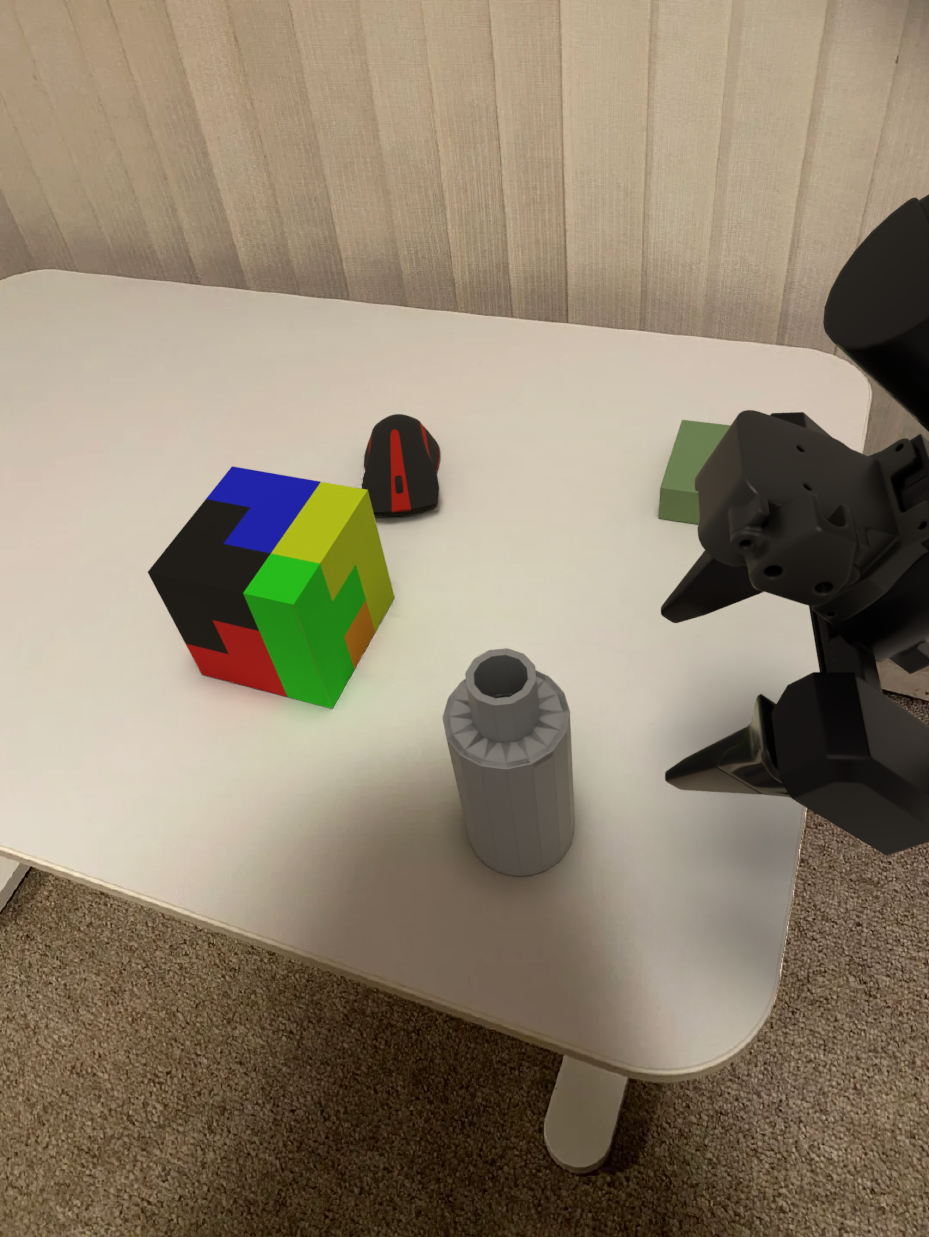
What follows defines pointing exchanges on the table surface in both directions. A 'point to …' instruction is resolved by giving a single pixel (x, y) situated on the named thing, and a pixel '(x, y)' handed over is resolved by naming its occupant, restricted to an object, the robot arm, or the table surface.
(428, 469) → the computer mouse
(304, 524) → the puzzle toy
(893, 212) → the robot arm
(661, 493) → the green block
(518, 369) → the table surface
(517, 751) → the flask
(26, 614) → the table surface
